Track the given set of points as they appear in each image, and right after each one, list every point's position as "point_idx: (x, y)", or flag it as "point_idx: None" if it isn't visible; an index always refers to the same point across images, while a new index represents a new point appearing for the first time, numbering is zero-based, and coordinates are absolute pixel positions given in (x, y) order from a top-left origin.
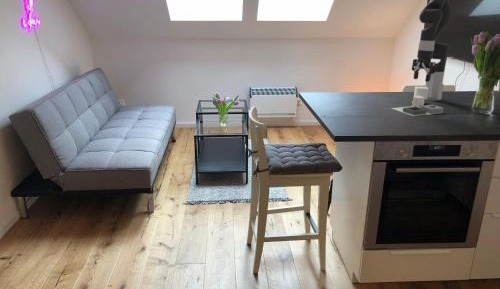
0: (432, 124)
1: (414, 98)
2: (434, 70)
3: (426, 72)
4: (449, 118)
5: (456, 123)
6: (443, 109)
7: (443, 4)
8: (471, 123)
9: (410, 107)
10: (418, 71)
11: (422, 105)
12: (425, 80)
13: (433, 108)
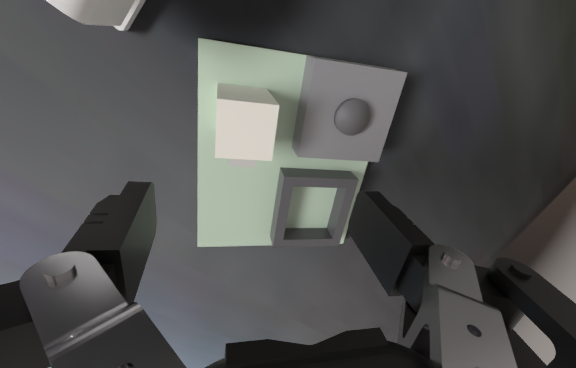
0: (426, 233)
1: (239, 165)
2: (570, 311)
3: (408, 327)
4: (438, 105)
5: (482, 147)
6: (401, 71)
7: None
8: (529, 88)
9: (285, 215)
10: (95, 258)
11: (300, 143)
12: (355, 238)
13: (376, 142)
